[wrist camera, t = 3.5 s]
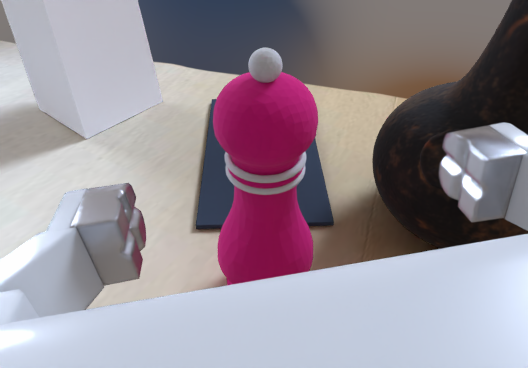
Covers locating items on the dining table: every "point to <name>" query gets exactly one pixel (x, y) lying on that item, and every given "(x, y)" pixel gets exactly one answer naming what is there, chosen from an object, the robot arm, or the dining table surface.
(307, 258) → the pepper mill
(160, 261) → the dining table surface
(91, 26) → the milk
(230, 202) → the mat
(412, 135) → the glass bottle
